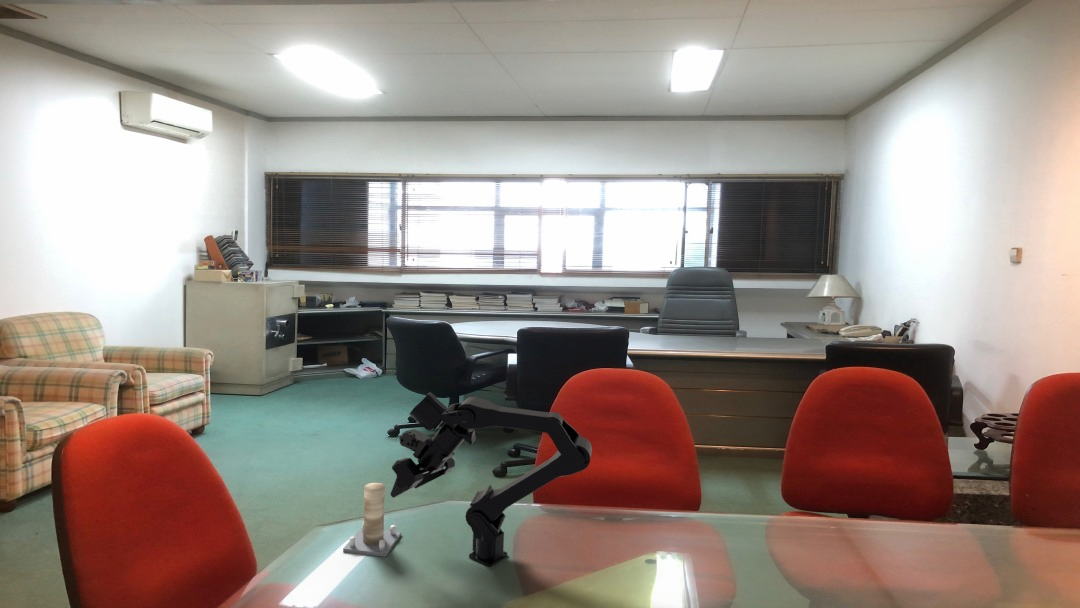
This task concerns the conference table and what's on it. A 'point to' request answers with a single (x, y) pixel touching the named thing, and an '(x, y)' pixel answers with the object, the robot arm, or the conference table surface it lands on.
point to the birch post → (373, 513)
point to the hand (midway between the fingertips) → (403, 491)
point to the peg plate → (378, 550)
